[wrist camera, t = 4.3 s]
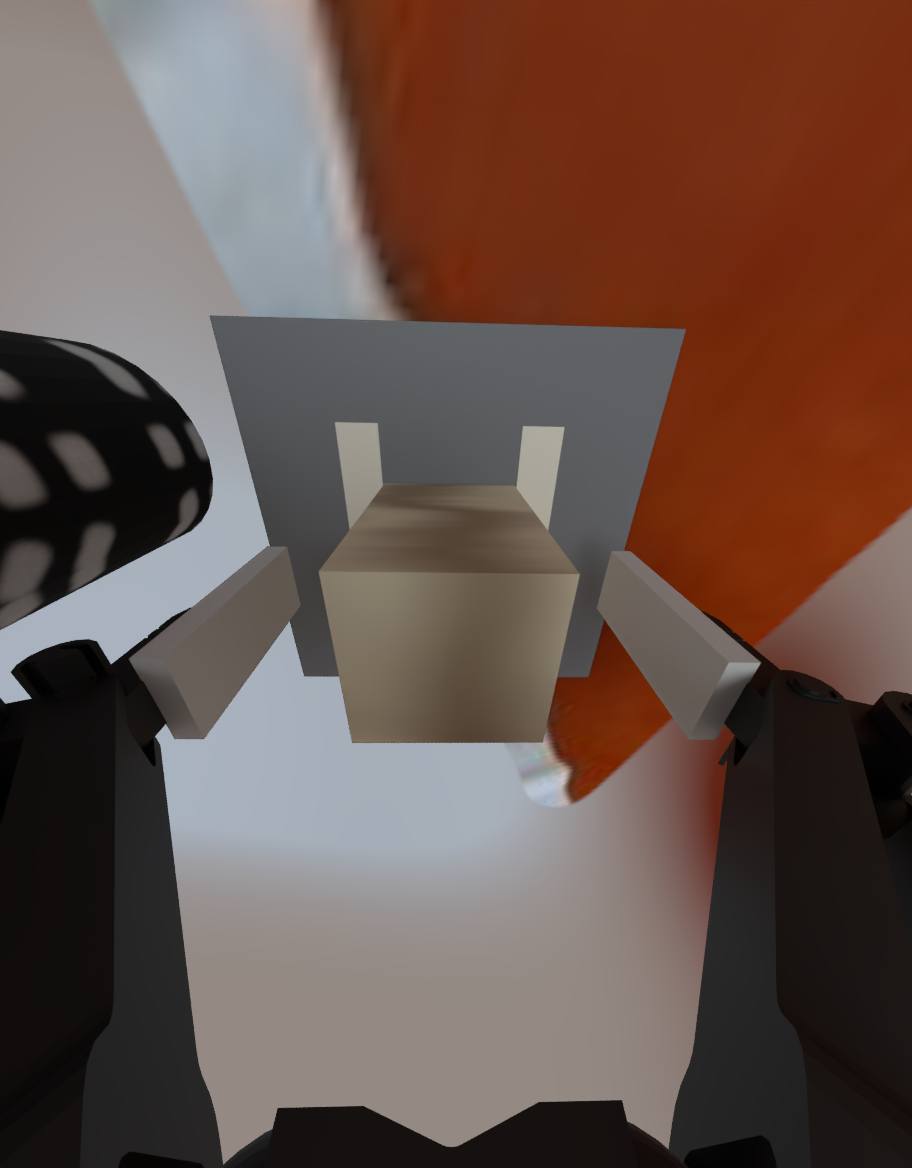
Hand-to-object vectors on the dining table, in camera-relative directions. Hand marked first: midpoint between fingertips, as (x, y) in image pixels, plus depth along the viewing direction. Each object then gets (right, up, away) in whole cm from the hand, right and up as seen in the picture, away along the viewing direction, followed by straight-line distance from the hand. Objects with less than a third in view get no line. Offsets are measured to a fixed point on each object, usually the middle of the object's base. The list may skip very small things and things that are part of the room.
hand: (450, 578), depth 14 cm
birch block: (0, +2, +3) cm, 3 cm away
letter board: (0, +2, +3) cm, 4 cm away
